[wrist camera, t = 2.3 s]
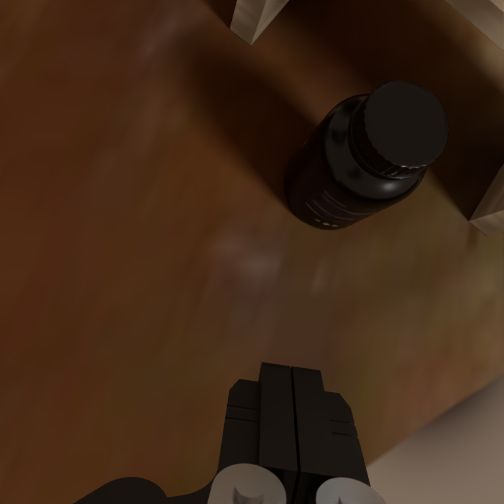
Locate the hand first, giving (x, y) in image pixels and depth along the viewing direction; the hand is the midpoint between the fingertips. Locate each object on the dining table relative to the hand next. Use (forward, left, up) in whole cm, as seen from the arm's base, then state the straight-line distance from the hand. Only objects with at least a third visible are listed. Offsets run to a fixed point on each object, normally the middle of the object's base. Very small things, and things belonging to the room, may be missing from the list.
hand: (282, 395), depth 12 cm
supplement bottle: (0, +15, -20) cm, 25 cm away
